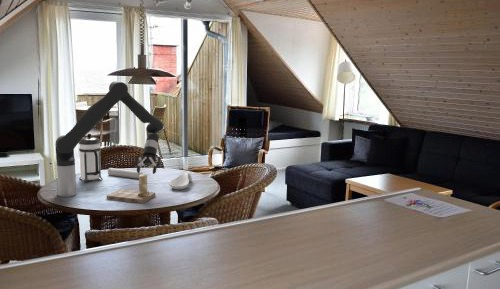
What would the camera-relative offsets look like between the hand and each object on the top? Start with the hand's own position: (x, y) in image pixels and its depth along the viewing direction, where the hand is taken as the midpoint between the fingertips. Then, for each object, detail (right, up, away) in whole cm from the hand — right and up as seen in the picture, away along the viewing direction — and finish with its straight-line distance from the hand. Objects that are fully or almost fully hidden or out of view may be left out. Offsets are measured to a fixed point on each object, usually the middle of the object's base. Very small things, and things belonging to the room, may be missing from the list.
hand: (145, 172), depth 234 cm
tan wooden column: (-1, -12, -4) cm, 12 cm away
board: (-7, -13, -3) cm, 16 cm away
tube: (-24, -6, +42) cm, 49 cm away
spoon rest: (+17, -10, +24) cm, 31 cm away
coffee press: (-42, -7, +30) cm, 52 cm away
